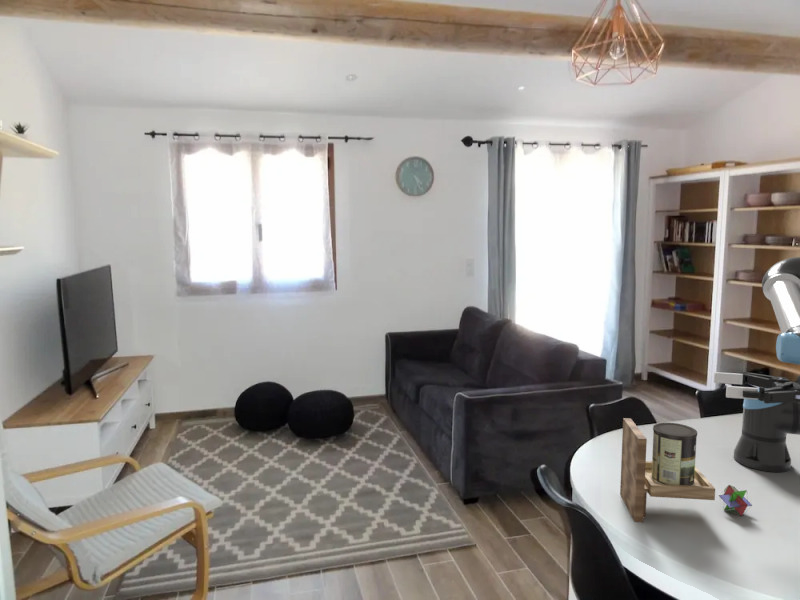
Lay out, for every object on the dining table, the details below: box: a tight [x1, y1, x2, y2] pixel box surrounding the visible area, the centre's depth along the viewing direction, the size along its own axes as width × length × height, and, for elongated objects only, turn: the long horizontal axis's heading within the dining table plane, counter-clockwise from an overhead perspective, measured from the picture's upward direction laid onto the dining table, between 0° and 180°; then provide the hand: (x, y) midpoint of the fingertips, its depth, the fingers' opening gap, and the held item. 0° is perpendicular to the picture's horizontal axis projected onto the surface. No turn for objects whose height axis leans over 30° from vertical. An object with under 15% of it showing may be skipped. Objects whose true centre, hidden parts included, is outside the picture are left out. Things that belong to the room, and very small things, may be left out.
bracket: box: [619, 417, 716, 523], centre depth 143 cm, size 15×18×22 cm
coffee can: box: [651, 422, 698, 486], centre depth 143 cm, size 10×10×14 cm
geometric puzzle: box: [718, 484, 753, 517], centre depth 143 cm, size 7×7×8 cm
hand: (719, 384), depth 140 cm, fingers open, 13 cm apart
